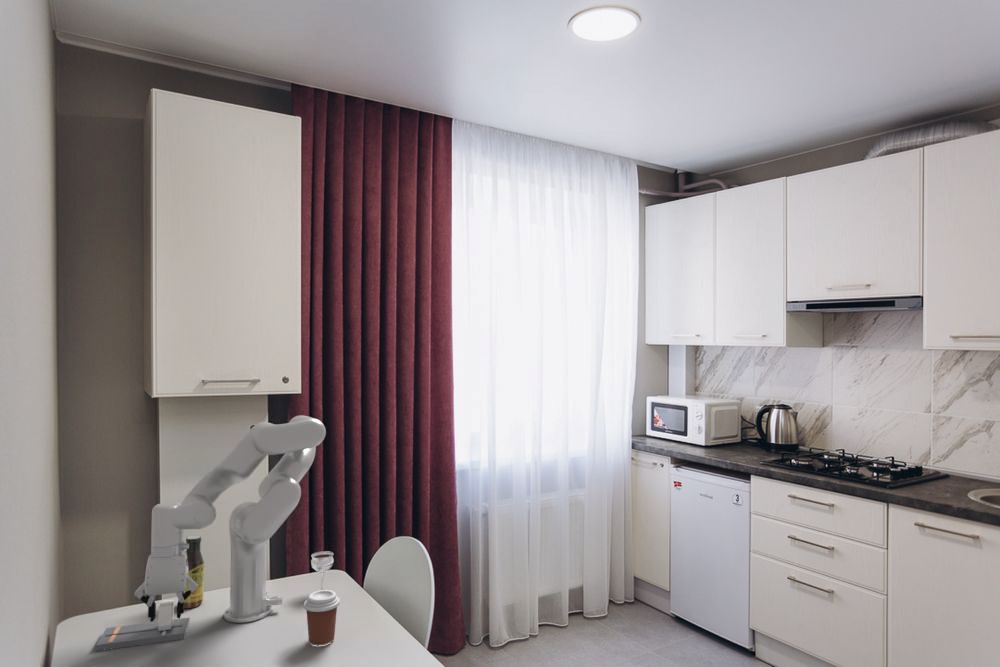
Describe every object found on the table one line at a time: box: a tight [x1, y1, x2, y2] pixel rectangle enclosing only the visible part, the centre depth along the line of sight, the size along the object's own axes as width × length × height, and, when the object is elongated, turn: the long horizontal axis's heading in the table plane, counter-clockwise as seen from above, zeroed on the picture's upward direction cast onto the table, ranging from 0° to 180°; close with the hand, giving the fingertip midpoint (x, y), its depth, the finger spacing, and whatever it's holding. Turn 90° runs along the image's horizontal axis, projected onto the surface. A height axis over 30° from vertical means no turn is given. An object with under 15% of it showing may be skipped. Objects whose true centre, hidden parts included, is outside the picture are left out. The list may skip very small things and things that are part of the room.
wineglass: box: [310, 550, 335, 590], centre depth 192 cm, size 7×7×12 cm
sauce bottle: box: [184, 535, 205, 609], centre depth 184 cm, size 6×6×20 cm
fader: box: [157, 599, 175, 631], centre depth 165 cm, size 3×5×6 cm, turn 19°
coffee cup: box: [303, 589, 341, 646], centre depth 161 cm, size 9×9×12 cm
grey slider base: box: [95, 617, 191, 652], centre depth 164 cm, size 20×10×2 cm, turn 109°
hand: (166, 617), depth 165 cm, fingers open, 5 cm apart
